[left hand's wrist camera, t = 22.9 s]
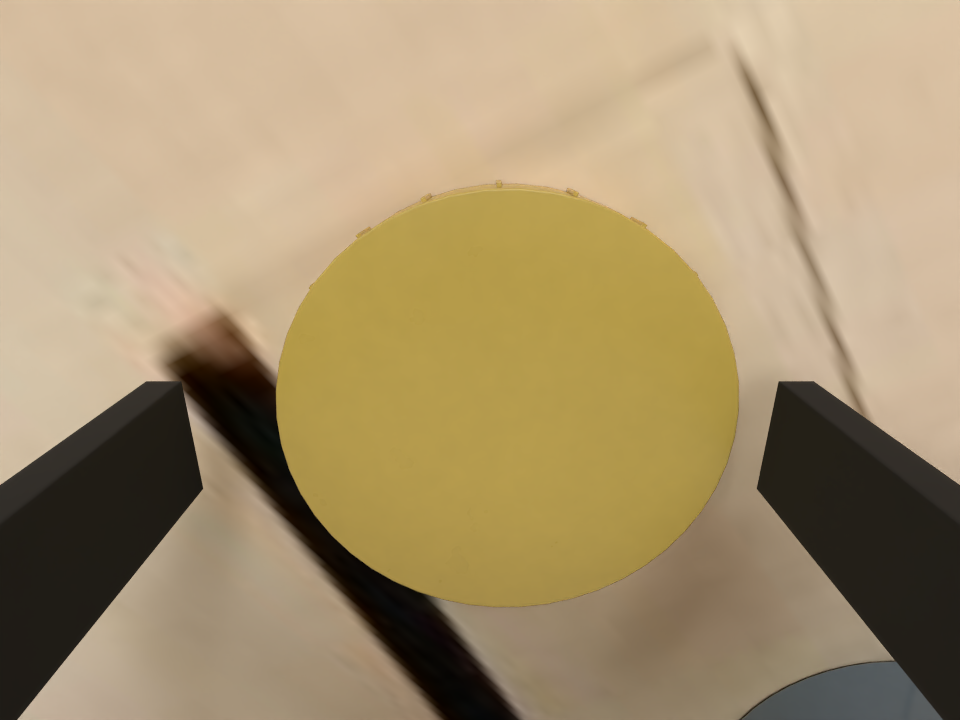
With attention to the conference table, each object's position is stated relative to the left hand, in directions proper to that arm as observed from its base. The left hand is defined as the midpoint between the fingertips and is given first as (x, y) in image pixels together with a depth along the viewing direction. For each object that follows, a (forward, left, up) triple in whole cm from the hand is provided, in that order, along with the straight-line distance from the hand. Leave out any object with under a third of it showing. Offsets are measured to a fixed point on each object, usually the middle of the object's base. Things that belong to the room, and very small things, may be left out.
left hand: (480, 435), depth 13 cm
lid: (+1, 0, -1) cm, 1 cm away
